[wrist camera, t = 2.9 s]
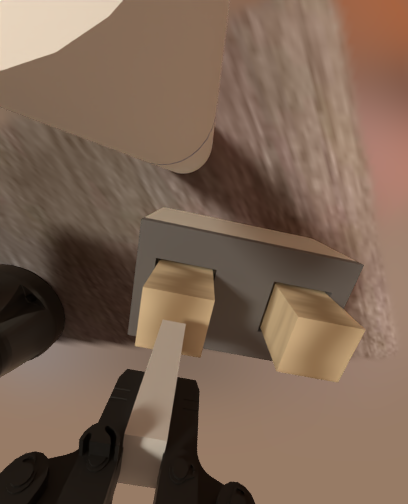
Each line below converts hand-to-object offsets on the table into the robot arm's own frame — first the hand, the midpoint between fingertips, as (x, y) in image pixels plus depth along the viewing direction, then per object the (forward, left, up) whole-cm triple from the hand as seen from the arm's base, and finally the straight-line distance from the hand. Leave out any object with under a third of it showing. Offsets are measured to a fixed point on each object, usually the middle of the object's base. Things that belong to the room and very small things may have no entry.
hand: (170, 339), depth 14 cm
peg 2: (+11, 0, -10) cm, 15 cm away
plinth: (+5, 0, -17) cm, 17 cm away
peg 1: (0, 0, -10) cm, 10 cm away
